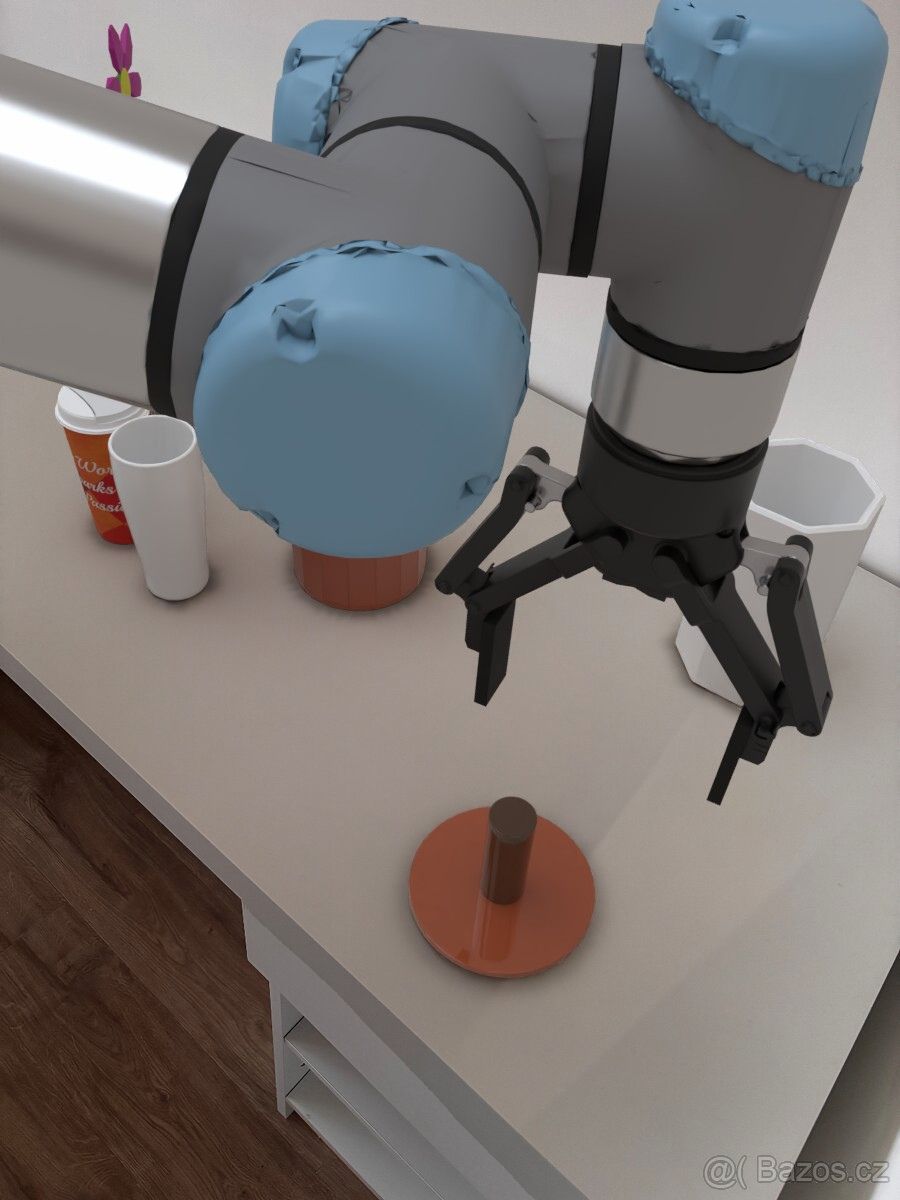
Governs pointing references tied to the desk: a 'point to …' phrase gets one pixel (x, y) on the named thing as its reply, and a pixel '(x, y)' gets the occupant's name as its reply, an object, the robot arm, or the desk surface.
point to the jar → (358, 578)
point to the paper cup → (96, 454)
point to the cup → (797, 507)
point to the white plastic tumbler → (163, 502)
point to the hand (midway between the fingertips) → (601, 735)
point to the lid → (501, 890)
